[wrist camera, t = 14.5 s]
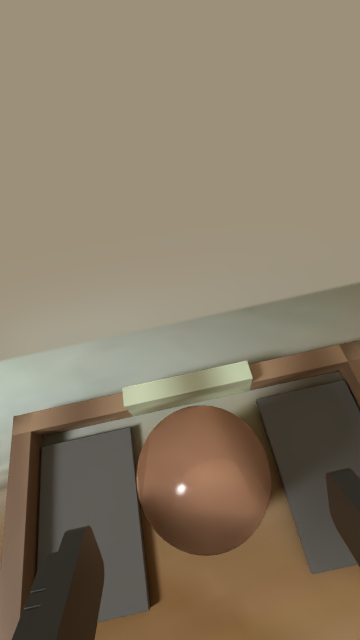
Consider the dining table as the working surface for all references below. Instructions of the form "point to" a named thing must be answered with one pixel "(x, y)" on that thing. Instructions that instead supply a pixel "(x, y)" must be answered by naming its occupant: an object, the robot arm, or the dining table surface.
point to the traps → (123, 502)
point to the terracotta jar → (203, 480)
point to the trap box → (28, 429)
